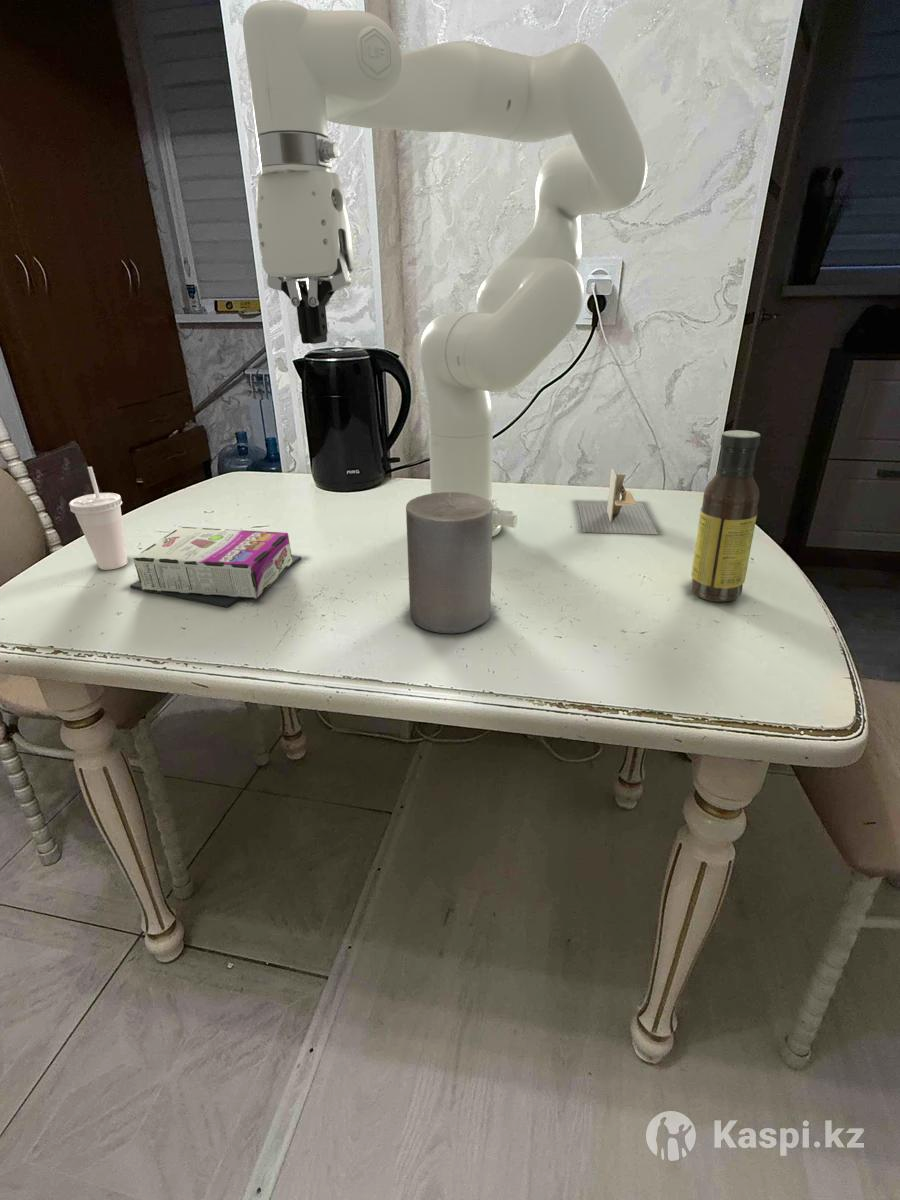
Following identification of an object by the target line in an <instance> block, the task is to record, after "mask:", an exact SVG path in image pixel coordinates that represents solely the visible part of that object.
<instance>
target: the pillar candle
mask: <svg viewBox="0 0 900 1200" xmlns="http://www.w3.org/2000/svg"><path fill="white" fill-rule="evenodd" d="M493 508H494V506H493V505H492V503H491V502H490V501H489V500H488V499H486V498H484V497H482V496H479V495H476V494H470V493H462V492H441V493H432V494H431V493H426V494H423V495H419V496H416V497H414V498H411V499H410V500H409V501H408V502H407V503H406V505H405V513H406V514H405V515H406V518H405V519H406V541H407V542H406V543H407V569H408V596H409V615H410V619H411V621H412V622H413V623H414V624H415V625H417V626H418V627H420V628H421V629H424V630H426V631H430V632H432V633H433V632H434V633H439V634H461V633H467V632H469V631H471V630H473V629H475V628H477V627H479V626H481V625H483V624H485V623H486V622H488V620H489V618H490V616H491V606H492V603H491V602H492V601H491V599H492V598H491V597H492V573H493V571H492V570H493V569H492V568H493V537H492V511H493Z"/></svg>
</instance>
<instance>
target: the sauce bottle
mask: <svg viewBox="0 0 900 1200" xmlns="http://www.w3.org/2000/svg"><path fill="white" fill-rule="evenodd" d="M760 442H761V434H760V433H759V432H757V431H751V430H742V429H741V430H740V429H735V430H726V431H723V432H722V433H721V436H720V442H719V444H720V445H719V446H720V448H721V449H720V454H719V461H718V466H717V471H716V473H715V475H714V476H713V477H712V479H711V480H709V482H708V483H707V485H706V486H705V489H704V492H703V496H702V505H701V508H700V512H699V519H698V526H697V534H696V539H695V540H696V541H695V545H694V546H695V548H694V554H693V559H692V560H693V561H692V565H691V566H692V568H691V573H690V574H691V575H690V576H691V582H690V589H691V591H692V593H693V594H694V595H695V596H697V597H699V598H701V599H703V600H706V601H709V602H710V601H711V602H729V601H733V600H736V599H737V598H739V597H740V596H741V595H742V593H743V587H744V583H745V582H746V576H747V571H748V565H749V560H750V553H751V549H752V545H753V538H754V532H755V528H756V521H757V518H758V506H759V501H760V489H759V488H758V484H757V483H756V481H755V478H754V476H753V475H754V471H755V466H754V465H755V461H756V456H757V450H758V449H759V447H760Z"/></svg>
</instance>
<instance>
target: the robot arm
mask: <svg viewBox="0 0 900 1200" xmlns="http://www.w3.org/2000/svg"><path fill="white" fill-rule="evenodd" d="M242 31H243V39H244V48H245V56H246V64H247V72H248V81H249V88H250V94H251V102H252V110H253V118H254V127H255V134H256V141H257V151H258V157H259V158H258V159H259V166H260V172H261V174H259V175H257V178H256V179H257V181H256V219H257V220H256V221H257V236H258V246H259V253H260V258H261V263H262V267H263V271H264V272H265V273H266V275H267V279H266V281H267V283H266V284H267V286H268V287H269V288H270V289H274V290H277V291H280V292H283V293H284V294H285V295H286V297H288V298H289V300H290V302H291V305H292V307H294V308H296V314H297V323H298V330H299V334H300V339H301V343H302V344H303V345H304V344H305V345H307V344H308V345H309V344H310V345H317V344H322V343H323V344H324V343H327V342H328V332H329V329H328V319H327V308H326V307H327V306H329V304H330V299H331V298H332V297H333V295H334V294H335V292H337V291H340V290H343V289H346V288H349V287H351V284H352V281H351V277H350V274H351V273H353V271H354V268H355V256H354V247H353V238H352V230H351V223H350V219H349V218H350V217H349V212H348V207H347V201H346V197H345V193H344V190H343V185H342V182H341V178H340V175H339V174H338V173H336V172H332V168H333V160H334V159H338V158H339V157H340V154H341V152H340V146H339V144H338V143H337V142H331V139H330V138H329V125H328V122H330V123H334V124H339V125H345V126H350V127H351V126H352V127H357V128H364V129H365V128H366V129H373V130H387V131H415V132H428V133H459V134H467V135H473V136H474V135H475V136H482V137H488V138H495V139H500V140H507V141H513V142H518V143H519V142H520V143H540V142H544V141H548V140H552V139H557V138H559V137H563V136H564V137H565V136H568V135H572V138H573V140H574V142H575V143H572V144H568V145H565V146H563V147H560V148H559V149H557V150H555V151H554V152H552V153H551V154H549V155H548V157H547V158H546V159H545V160H544V162H543V163H542V165H541V166H540V169H539V171H538V174H537V176H536V183H535V216H534V223H533V226H532V229H531V230H530V231H529V233H528V234H527V235H526V236H525V237H524V238H523V240H522V241H521V242H520V243H519V244H518V245H517V246H515V248H514V249H513V250H512V251H511V252H510V253H509V254H508V255H507V256H506V257H505V258H504V259H503V260H502V261H501V262H500V263H499V264H498V265H496V267H494V268H493V270H492V271H491V272H490V273H489V274H488V275H487V276H486V278H485V279H484V280H483V282H482V283H481V285H480V287H479V289H478V292H477V295H476V304H475V305H476V311H450V312H449V311H448V312H446V313H443V314H440V315H439V316H437V317H435V318H434V319H432V320H431V321H430V323H428V325H427V327H426V328H425V330H424V331H423V334H422V337H421V340H420V346H419V347H420V348H419V354H420V364H421V371H422V375H423V380H424V385H425V391H426V398H427V410H428V412H427V413H428V414H427V415H428V444H429V448H428V449H429V475H430V476H429V479H430V481H429V482H430V494H432V493H441V492H462V493H470V494H476V495H479V496H482V497H484V498H486V499H488V500H489V501H490V502H491V503H492V505H493V506H494V508H493V511H492V538H493V537H495V536H497V535H498V534H499V533H500V531H501V529H502V527H506V528H513V529H515V528H516V527H517V524H518V516H517V514H515V511H514V510H508V509H501V508H500V507H498V499H492V496H493V495H492V494H493V493H492V492H493V441H494V439H493V438H494V435H493V434H494V433H493V432H494V412H493V405H492V399H491V396H490V393H489V392H491V393H504V392H507V391H510V390H512V389H514V388H516V387H517V386H518V385H520V384H521V383H523V382H524V381H525V380H526V379H527V378H528V377H529V376H530V375H531V374H532V373H533V372H534V371H535V370H536V369H537V368H538V367H539V366H540V364H542V362H543V361H544V360H545V359H547V357H548V356H549V355H550V354H551V353H552V352H553V351H554V350H555V349H556V348H557V347H558V345H559V344H561V342H562V341H563V340H564V339H565V338H566V337H567V336H568V335H569V333H570V332H571V331H572V330H573V328H574V326H575V325H576V323H577V321H578V319H579V316H580V314H581V312H582V307H583V303H584V298H585V290H584V289H585V288H584V283H583V279H582V277H581V275H580V273H579V272H578V270H577V269H578V267H579V265H580V263H581V259H582V253H583V252H582V251H583V250H582V228H581V227H582V226H581V216H583V215H591V214H599V213H607V212H615V211H619V210H622V209H624V208H625V209H626V207H629V206H630V205H631V204H633V203H634V202H635V201H636V200H637V199H638V197H639V196H640V195H641V192H642V191H643V189H644V187H645V185H646V184H645V183H646V180H647V179H646V178H647V174H648V163H647V162H648V161H647V160H648V159H647V155H646V154H647V153H646V150H645V146H644V143H643V141H642V138H641V135H640V134H639V131H638V129H637V126H636V125H635V122H634V120H633V118H632V116H631V114H630V112H629V109H628V107H627V105H626V102H625V100H624V97H623V96H622V94H621V92H620V89H619V87H618V85H617V83H616V81H615V79H614V78H613V75H612V74H611V72H610V71H609V68H608V67H607V65H606V64H605V63H604V61H603V59H602V58H601V57H600V56H599V55H598V53H597V52H596V51H595V50H594V49H593V48H591V47H590V46H589V45H588V44H585V43H582V42H573V43H570V44H567V45H565V46H562V47H560V48H557V49H554V50H552V51H549V52H547V53H545V54H542V55H538V56H533V55H527V54H523V53H518V52H514V51H513V52H512V51H509V50H504V49H501V48H496V47H492V46H490V45H487V44H486V45H485V44H481V43H478V42H474V41H470V40H454V41H445V42H442V43H441V42H440V43H437V44H433V45H430V46H426V47H422V48H419V49H414V50H407V51H402V50H401V47H400V44H399V41H398V39H397V37H396V35H395V33H394V31H393V30H392V29H391V27H390V26H389V25H388V24H387V23H386V22H385V21H384V20H383V19H382V18H381V17H379V16H377V15H375V14H373V13H371V12H368V11H363V10H358V9H357V10H355V9H354V10H353V9H349V10H347V9H346V10H345V9H343V10H320V9H319V10H318V9H308V8H307V7H305V6H303V5H300V4H297V3H295V2H291V1H287V0H263V1H259V2H255V3H254V4H252V5H250V6H249V7H248V8H247V9H246V11H245V13H244V15H243V20H242Z"/></svg>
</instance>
